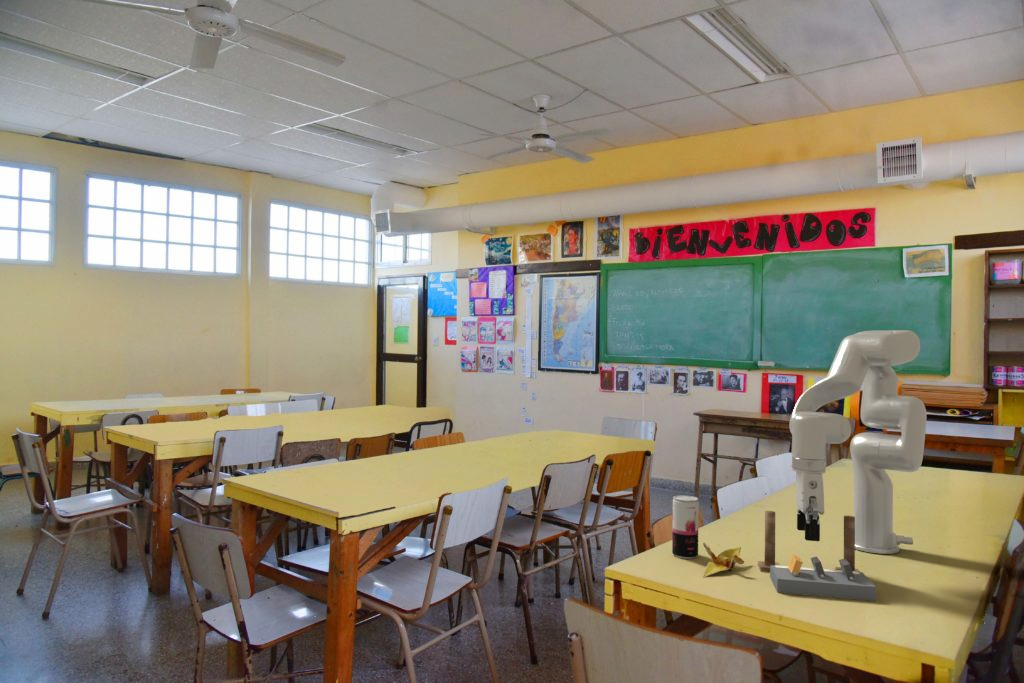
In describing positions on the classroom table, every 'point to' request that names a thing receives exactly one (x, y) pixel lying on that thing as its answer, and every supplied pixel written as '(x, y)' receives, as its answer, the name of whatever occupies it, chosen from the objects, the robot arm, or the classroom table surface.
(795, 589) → the panel
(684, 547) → the beverage can
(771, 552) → the post left
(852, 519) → the post right
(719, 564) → the origami crane
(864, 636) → the classroom table surface
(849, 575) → the toggle
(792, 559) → the toggle
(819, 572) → the toggle
